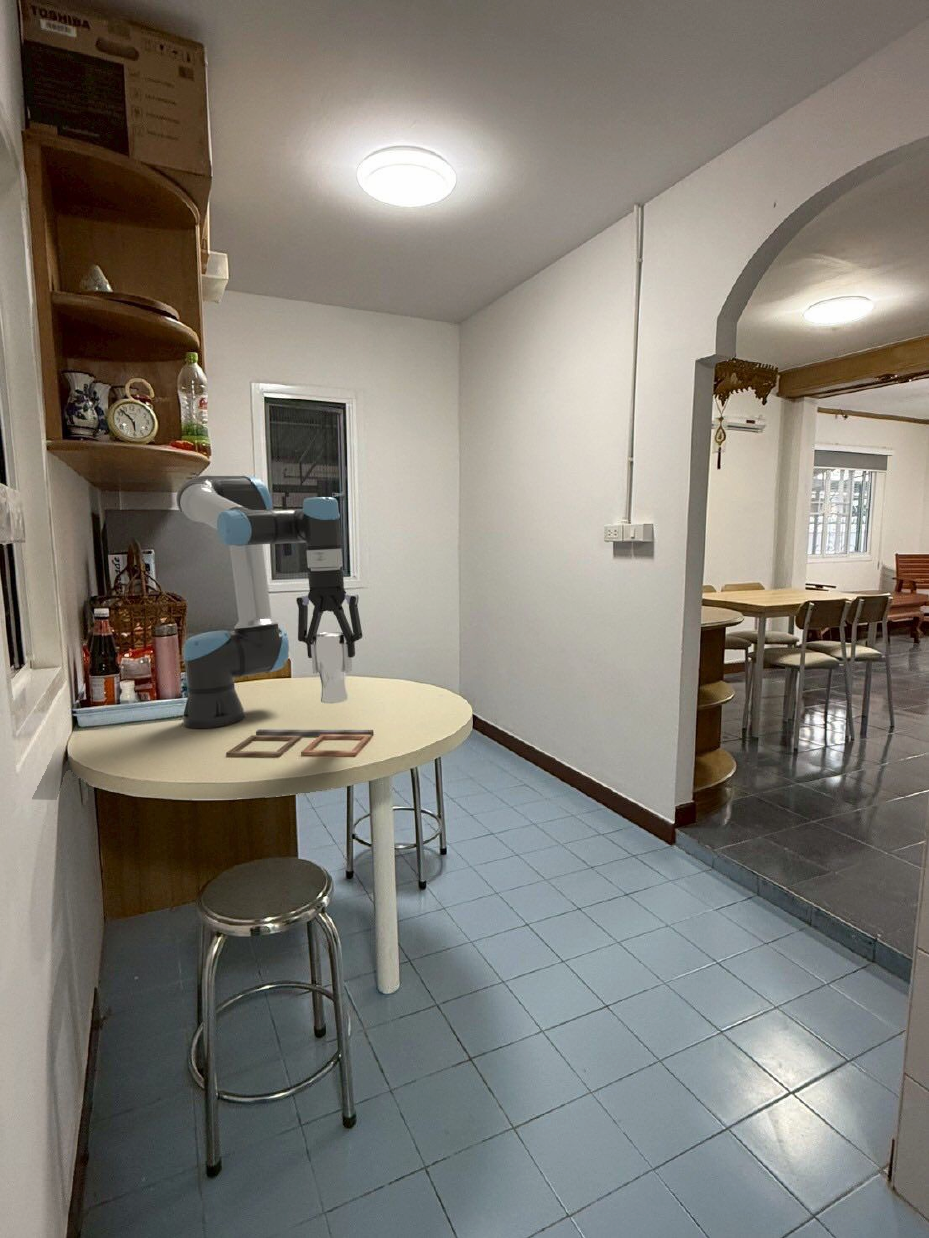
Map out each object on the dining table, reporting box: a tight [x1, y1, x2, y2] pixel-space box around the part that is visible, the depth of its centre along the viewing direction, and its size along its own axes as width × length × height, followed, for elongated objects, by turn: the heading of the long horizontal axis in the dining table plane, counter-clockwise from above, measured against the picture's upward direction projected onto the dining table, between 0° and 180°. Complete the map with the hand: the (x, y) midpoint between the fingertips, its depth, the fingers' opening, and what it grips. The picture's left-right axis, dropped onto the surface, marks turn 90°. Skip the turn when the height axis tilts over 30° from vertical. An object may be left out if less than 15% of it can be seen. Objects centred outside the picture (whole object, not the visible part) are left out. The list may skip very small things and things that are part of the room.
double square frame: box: [225, 729, 374, 758], centre depth 151 cm, size 29×16×1 cm, turn 82°
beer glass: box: [314, 631, 349, 705], centre depth 146 cm, size 7×7×15 cm
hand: (332, 671), depth 147 cm, fingers closed on beer glass, 7 cm apart
